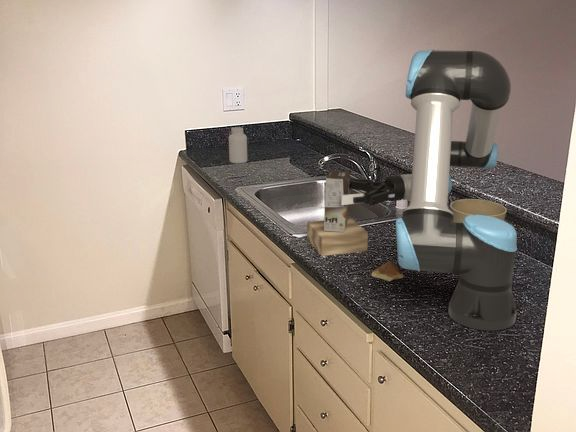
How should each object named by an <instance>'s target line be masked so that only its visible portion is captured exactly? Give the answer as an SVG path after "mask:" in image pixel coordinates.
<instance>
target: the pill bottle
mask: <svg viewBox="0 0 576 432" xmlns="http://www.w3.org/2000/svg"><path fill="white" fill-rule="evenodd" d="M230 133H231V134H229V136H228V153H229V156H228V158H229V159H228V160H229V162H230V163H231V164H245V163H247V162H248V138H247V135H246V134H245V133H244V128H243V127H239V126H236V127H231V128H230Z"/></svg>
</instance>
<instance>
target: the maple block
mask: <svg viewBox="0 0 576 432" xmlns="http://www.w3.org/2000/svg"><path fill="white" fill-rule="evenodd" d="M306 222H307V223H306V225H307V226H306V233H307V234H306V235H307V237H306V239H307V241H308V242H309V243H310V244H311V246H313V247H314V249H315V250H316V252H318V253H319V255H320V256H321V257H324V256H333V255H342V254H351V253H361V252H367V251H368V243H369V242H368V240H369V232H368V231H366V230H365V229H364V228H363V227H362V226H361V225H359V224H358V223H357V222H356V220H354V219H353V218H352V217H347V225H346V228H345V232H335V231H324V220H323V219H322V220H314V221H306Z"/></svg>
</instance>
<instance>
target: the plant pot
mask: <svg viewBox="0 0 576 432" xmlns="http://www.w3.org/2000/svg"><path fill="white" fill-rule="evenodd" d="M449 210H450V211H451V212H452V213H453V215H454V217H453V222H457V223H463V220H464V219H465V217H467V216H469V215H473V216H474V215H484V216H490V217H494V218H497V219H500V220H503V221H505V218H506V215H507V211H508V208H506V206H504V205H503V204H500V203H498V202H495V201H492V200H487V199H480V198H479V199H477V198H463V199H456V200H454V201H452V202H451V203H450V204H449Z"/></svg>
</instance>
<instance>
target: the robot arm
mask: <svg viewBox="0 0 576 432" xmlns="http://www.w3.org/2000/svg"><path fill="white" fill-rule="evenodd" d="M406 79H407V81H406V86H405V97H406V98H407V99H409V100H410V106H411V107H412V108H413V109H414V110H415V111H416V115H415V131H414V144H413V156H412V157H413V158H412V170H411V171H412V172H411V173H410V174H401V175H397V174H396V175H388V176H387V177H386V178H385V180H384V181H383V182H382V181H381V180H380V181H379V179H378V178H373V179H371V178H369V179H368V178H351V177H350V179H349V190H354V191H363V192H364V193H361V192H360V193H352V194H351V193H349V195H341V205H348V206H349V205H357V204H366V205H367V204H368V206H375V205H377V204H381V203H385V202H387V201H389V202H396V201H402V200H405V201H408V202H409V205H408V206H407V207H406V208H405V209H403V210H402V218H401V217H399V218H396V219H395V232H396V233H395V234H396V248H397V250H396V251H397V262H398V264H399V267H401V268H402V269H404V270H409V271H411V270H412V271H417V272H419V273H420V272H421V271H423V272H431V273H432V272H433V273H442V274H443V273H446V274H455V275H457V274H458V283H457V285H456V287H455V289H454V291H453V293H452V296H451V298H450V300H449V302H448V312H447V313H448V316H449V317H450V318H451V319H452V320H453V321H455V322H456V323H457V324H459V325H461V326H463V327H466V328H469V329H472V330H473V329H474V330H478V331H489V332H492V331H493V332H494V331H502V330H503V331H504V330H506V329H508V328H511V327H512V326H513V325H515V323H516V321H517V307H516V303H515V300H514V299H515V298H514V294H513V291H512V285H513V275H514V267H515V258H516V251H518V250H517V249H518V247H517V240H518V239H517V238H518V237H517V235H518V233H517V231H516V229H515V227H514V226H513V225H512V224H510V223H509V222H507V221H505V220H504V221H503V220H500V219H497V218H494V217H490V216H484V215H474V216H473V215H469V216H467V217H465V219H464V220H463V223H457V222H453V217H454V215H453V213H452V212H451V211H450V208H449V206H448V200H449V194H451V192H452V189H453V182H452V176H451V175H450V167H456V168H473V169H494V168H495V167H496V166H497V164H498V157H499V146H498V144H497V143H495V137H496V133H497V131H498V126H499V121H500V118H501V114H502V111H503V108H504V107H505V106H506V105H507V103H508V101H509V99H510V96H511V89H512V85H511V80H510V77H509V74H508V71H506V69H505V67H504V66H503V64H502V63H501V62H500V61H499V60H498V59H497V58H495V57H494V56H493V55H491V54H489V53H487V52H485V51H482V50H481V51H480V50H438V49H437V50H435V49H429V50H418V51H416V52H414V54H413V56H412V58H411V61H410V64H409V69H408V73H407V78H406ZM461 101H471V107H470V114H469V121H468V127H467V132H466V138H465V139H466V140H465V141H462V140H461V141H460V140H452V135H453V134H452V133H453V132H452V131H453V117H454V116H453V115H454V112H455V111H456V110H457V109H459V107H461Z"/></svg>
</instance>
